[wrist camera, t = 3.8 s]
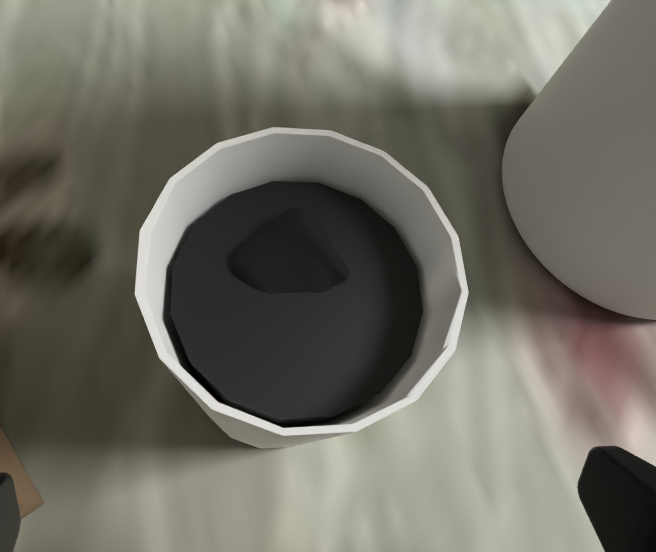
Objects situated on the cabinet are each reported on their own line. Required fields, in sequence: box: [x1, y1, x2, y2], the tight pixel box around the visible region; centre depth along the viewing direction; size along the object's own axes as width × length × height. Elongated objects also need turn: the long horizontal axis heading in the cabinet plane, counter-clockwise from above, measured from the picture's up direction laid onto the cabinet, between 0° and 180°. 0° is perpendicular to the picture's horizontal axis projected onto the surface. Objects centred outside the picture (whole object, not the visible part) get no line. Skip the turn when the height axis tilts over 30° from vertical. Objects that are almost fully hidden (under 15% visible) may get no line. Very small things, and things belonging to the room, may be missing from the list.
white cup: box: [135, 127, 469, 449], centre depth 15 cm, size 7×7×10 cm
